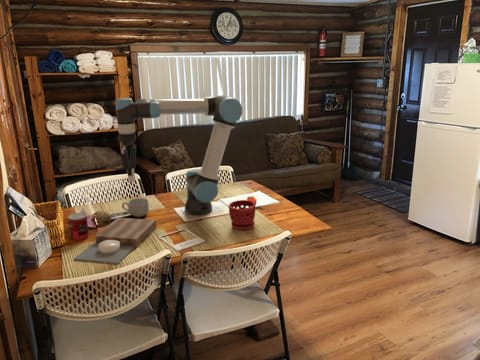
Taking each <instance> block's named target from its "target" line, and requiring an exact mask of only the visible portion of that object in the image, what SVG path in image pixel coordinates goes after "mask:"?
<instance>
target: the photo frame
mask: <svg viewBox="0 0 480 360" xmlns="http://www.w3.org/2000/svg"><path fill="white" fill-rule="evenodd" d="M182 231H186V232H187V233H188V232H189V233H188V234H190V233H191V234H190V235H192V236H193V235H194V236H193V237H195V238H193V239H190V240H186V241H183V242H180V243H177V244H174V245H173V244H172V243H170V242H168V241H167V240H165V239H164V238H163V237H165V236H167V235H171V234H175V233H178V232H182ZM196 237H197V238H196ZM158 238H159V239H160V240H161V241H163V243H165V244H167V245H168V246H169V245H170V246H169V247H170V248H174V250H175V251H176V252H180V251H184V250H185V249H186V250H187V249H188V248H189V249H190V248H192V247H194V246H193V245H195V246H197V245H196V244H198V245H200V244H199V243H201V244H203V243H202V242H204V243H206V240H205V239H203V238H202V237H200V236H198V235H196V234H195V233H193V232H192V231H190V230H188V229H187V228H182V229H179V230H175V231H172V232H169V233H166V234H163V235H159V236H158ZM191 246H192V247H191Z"/></svg>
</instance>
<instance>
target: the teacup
mask: <svg viewBox="0 0 480 360" xmlns="http://www.w3.org/2000/svg"><path fill="white" fill-rule="evenodd" d="M125 205H126V206H127V208H126V207H125ZM121 207H122V210H124V211H127V213H128V214H129V215H131V216H132V215H133V217H134V216H135V217H134V218H142V217H144V216H146V215H147V214H148V213H149V210H150V209H149V199H148V198H144V197H138V198H132V199H130V200H128V202H127V201H123V202H122V204H121Z"/></svg>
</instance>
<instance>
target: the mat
mask: <svg viewBox="0 0 480 360" xmlns="http://www.w3.org/2000/svg"><path fill="white" fill-rule="evenodd" d="M98 244H99V243H96V242H93V243H91V244H90V245H89V246H88V247H86V248H85V249H83V251H81V252H80V253H79V254H77V255H76V256H75V257H74V258H73V260H74V261H79V262H80V261H81V262H89V261H90V262H91V263H100V262H106V263H105V264H110V263H113V264H112V265H119V264H120V263H121V262H122V261H123V260H124V259H126V257H127V256H128V255H129V254H130V253H131V252H132V251H134V249H135V247H134V246H122V245H120V250H119V251H117V252H115V253H112V254H102V253H100V252H99V249H98Z"/></svg>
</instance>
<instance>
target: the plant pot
mask: <svg viewBox="0 0 480 360" xmlns="http://www.w3.org/2000/svg"><path fill="white" fill-rule="evenodd" d="M247 207H248V208H247ZM228 212H229V218H230V220H231V226H232V227H233V228H234V229H236V230H238V231H239V230H241V231H246V230H249V229H251V228H253V227H254V226H255V223H256V222H255V221H254V220H255V217H256V204H255V202H254V201H251V200H248V199H247V200H246V199H241V200H234V201H231V202H230V203H229V204H228Z"/></svg>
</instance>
